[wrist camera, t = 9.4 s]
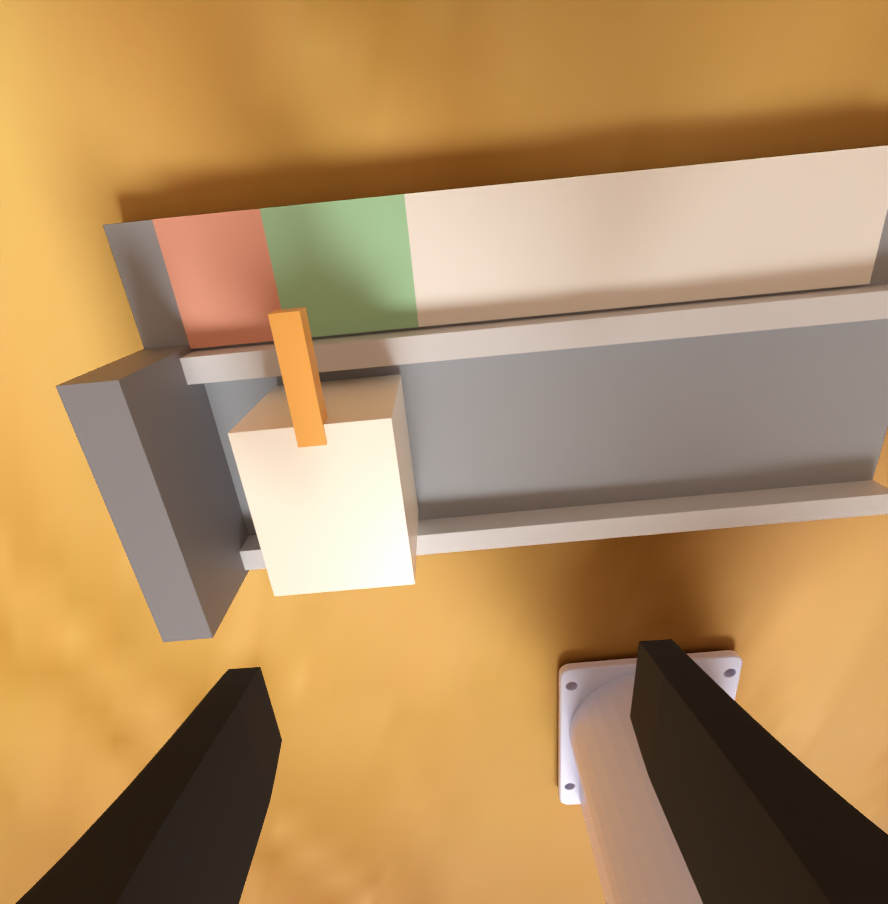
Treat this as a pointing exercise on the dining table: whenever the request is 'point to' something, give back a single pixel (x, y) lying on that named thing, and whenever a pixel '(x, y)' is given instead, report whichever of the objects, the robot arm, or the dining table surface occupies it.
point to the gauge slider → (328, 474)
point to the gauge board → (513, 359)
